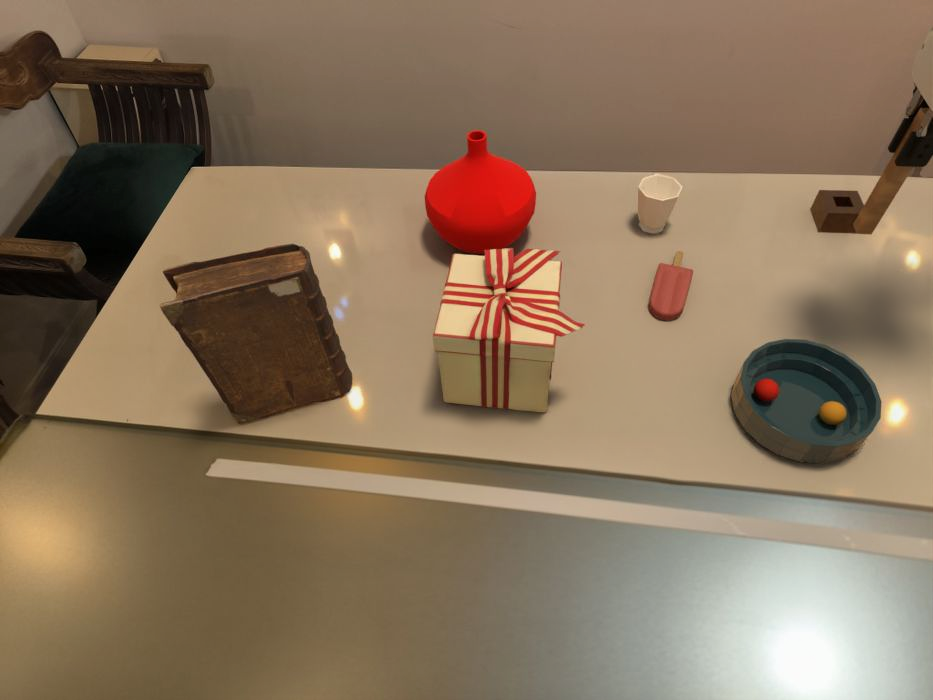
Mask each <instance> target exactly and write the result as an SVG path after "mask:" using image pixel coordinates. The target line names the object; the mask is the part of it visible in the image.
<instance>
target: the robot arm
mask: <svg viewBox="0 0 933 700" xmlns="http://www.w3.org/2000/svg"><path fill="white" fill-rule="evenodd" d="M910 73H911V74H910V75H911V78H912V80H913V86H914V89H913V90H912V97H911V99H910V101H909V103H908V105H907V106H906V109H905V112H904V116H905V117H903V118H902V121H901V123H900V124H899V126H898V128H897V130H896V132H895V134H894V136H892V139H891V141H890V143H889V145H888V146H887V150H888V152H889V153H892V154H894V153H895V151H896V150H897V148H898V146H899V144H900V143H901V141H902V139H903V138H904V136H905V134H906V132H907V131H908V129H909V127H910V125H911V124H912V122H913V120H914V118H915V117H916V115H917V113H918V111H919V110H920V108H929V110H928V111H927V113H926V115H925V116H924V118H923V120H922V122H921V123H920V125H919V127H918V128H917V131H911V133H910V135H909V136H908V138H907V140H906V142H905V143H904V145H903V147H902V149H901V150H900V152H899V154H898V156H897V157H896V159H895V161H894V162H895V164H896V166H906V167H913V168H923V167H926V166H927V165H928V164H929V163H930V161H931V159H932V157H933V26H932V27H931V29H930V31H929V32H928V34H927V36H926V37H925V39H924V41H923V43H922V45H921V47H920V49H919V50H918V52H917V55H916V57H915V59H914V61H913V64H912V65H911V70H910Z"/></svg>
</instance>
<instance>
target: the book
mask: <svg viewBox="0 0 933 700" xmlns="http://www.w3.org/2000/svg"><path fill="white" fill-rule="evenodd" d="M311 259H312V258H311V254H310V252H309V250H308V249H306V248H305V246H302V245H298V244H295V243H288V244H287V243H286V244H281V245H275V246H270V247H265V248H262V249H259V250H254V251H248V252H242V253H237V254H231V255H227V256H222V257H218V258H212V259H208V260H202V261H191V262H187V263H183V264H179V265H175V266H171V267H166V268H164V269H162V274H163V275H164V278H165V279H166V280H167V282H168V284H169V286H170V287H171V288H172V289H173V291H174V292H175V294H176V295H175V298H174V300H170V301H166V302H161V303H160V304H159V308H160V310H161V311H162V314H163V315H164V317H165V318H166V320H167V321H168V322H169V324H170V325H171V326H172V327H173V328H174V329H175V331H176V332H177V333H178V335H179V336H180V338H181V340H182V341H183V343H184V345H185V346H186V347H187V348H188V350H189V351H190V353H191V355H192V356H193V357H194V359H195V361H196V362H197V363H198V365H199V367H200V368H201V369H202V371H203V372H204V374H205V375H206V377H207V378H208V380H209V381H210V383H211V385H212V386H213V387H214V389H215V391H217V394H218V396H219V397H220V399H221V400H222V402H223V404H224V405H225V406H226V407H227V409H228V411H229V413H230V414H231V416H232V418H233V419H234V421H235V422H236V424H237V425H239V426H240V425H243V424H248V423H252V422H256V421H260V420H263V419H266V418H269V417H272V416H275V415H278V414H280V413H284V412H286V411H290V410H294V409H297V408H301V407H305V406H309V405H312V404H317V403H325V402H330V401H334V400H336V399H340V398H343V397H344V396H345V395H346V394H348V393H350V391H351V389H352V386H353V379H354V378H353V372H352V371H351V369H350V367H349V364H348V362H347V356H346V353H345V351H344V350H343V348H342V346H341V341H340V340H341V339H340V337H339V335H338V333H337V331H336V329H335V325H334V319H333V317H332V315H331V314H330V312H329V308H328V304H327V299H326V297H325V296H324V295H323V292H322V289H321V287H320V280H319V278H318V275H317V274H316V273H315V270H314V266H313V263H312V260H311Z"/></svg>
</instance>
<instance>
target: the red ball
mask: <svg viewBox="0 0 933 700" xmlns="http://www.w3.org/2000/svg"><path fill="white" fill-rule="evenodd" d="M754 393H755V395H756V397H757V398H758V399H760V400H762V401H772V400H774V399H775V398H776V397H777V396H778V394H779V387H778V385H777V383H776V382H775V381H773V380H771V379H762V380H760V381H758V382H757V383H756V384H755V386H754Z"/></svg>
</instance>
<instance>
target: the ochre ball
mask: <svg viewBox="0 0 933 700" xmlns="http://www.w3.org/2000/svg"><path fill="white" fill-rule="evenodd" d="M819 415H820V418H821V419H822V420H823V421H824V422H825V423H827V424H830V425H837V424H840V423H842V422H843V421H844V420H845V418H846V415H847V412H846V409H845V407H844V406H843V405H842V404H840V403H838V402H835V401H830V402H826V403H824V404H823V405H822V406H821V407H820V410H819Z"/></svg>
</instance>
